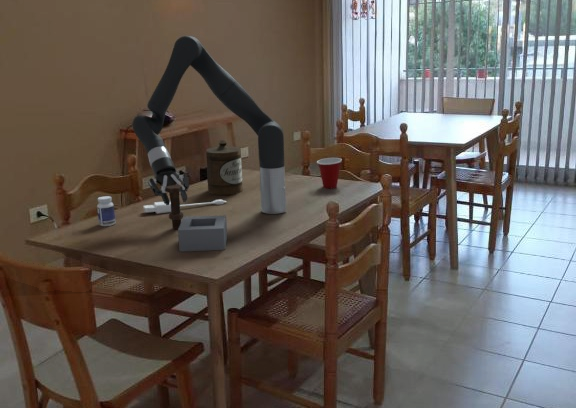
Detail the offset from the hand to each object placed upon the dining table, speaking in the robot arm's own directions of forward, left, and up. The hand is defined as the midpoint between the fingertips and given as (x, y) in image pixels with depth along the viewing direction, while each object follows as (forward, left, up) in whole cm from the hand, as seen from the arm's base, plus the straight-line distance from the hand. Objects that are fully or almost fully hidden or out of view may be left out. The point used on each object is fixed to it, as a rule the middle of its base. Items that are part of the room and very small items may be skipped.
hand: (176, 202), depth 205 cm
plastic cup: (-58, -52, -10) cm, 79 cm away
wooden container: (-13, -52, -10) cm, 55 cm away
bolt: (+1, -2, -10) cm, 10 cm away
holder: (-10, +16, -10) cm, 21 cm away
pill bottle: (+27, -9, -10) cm, 30 cm away
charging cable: (+1, -27, -10) cm, 29 cm away
